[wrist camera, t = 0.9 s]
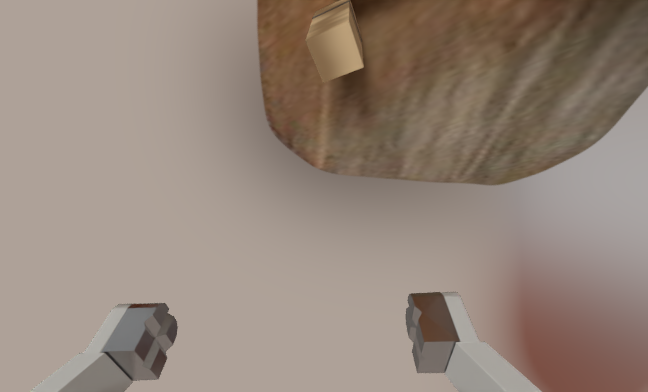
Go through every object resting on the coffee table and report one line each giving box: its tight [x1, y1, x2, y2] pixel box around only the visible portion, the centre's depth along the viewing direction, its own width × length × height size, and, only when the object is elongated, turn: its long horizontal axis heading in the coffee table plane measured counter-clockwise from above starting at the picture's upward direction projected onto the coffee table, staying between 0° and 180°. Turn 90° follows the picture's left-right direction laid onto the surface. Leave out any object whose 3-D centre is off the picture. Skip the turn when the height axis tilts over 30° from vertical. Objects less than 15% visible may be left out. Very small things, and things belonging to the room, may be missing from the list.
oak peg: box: [306, 0, 364, 83], centre depth 31 cm, size 4×4×12 cm
